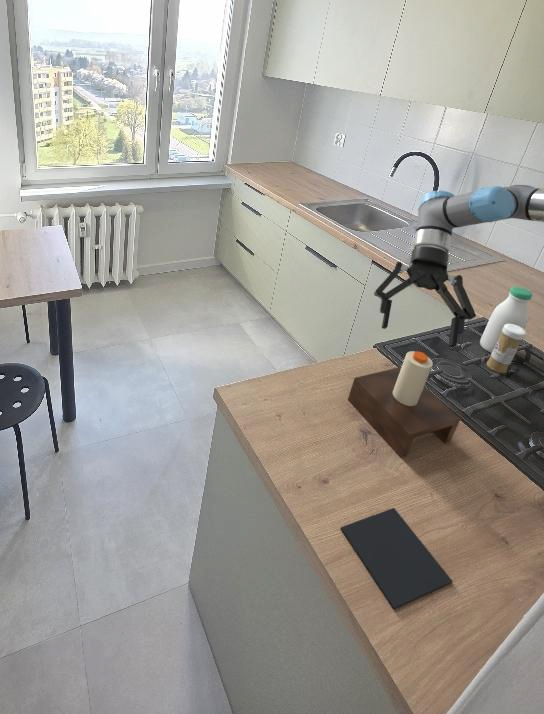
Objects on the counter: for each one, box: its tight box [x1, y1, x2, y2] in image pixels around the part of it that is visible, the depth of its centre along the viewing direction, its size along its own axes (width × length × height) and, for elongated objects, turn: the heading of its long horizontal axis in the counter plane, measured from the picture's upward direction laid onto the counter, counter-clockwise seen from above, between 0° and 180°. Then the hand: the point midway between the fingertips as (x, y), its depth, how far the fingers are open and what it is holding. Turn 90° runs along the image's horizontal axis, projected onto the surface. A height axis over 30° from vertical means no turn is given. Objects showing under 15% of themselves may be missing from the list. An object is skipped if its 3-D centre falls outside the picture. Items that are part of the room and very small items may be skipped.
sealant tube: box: [393, 350, 434, 406], centre depth 91 cm, size 5×5×12 cm
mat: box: [340, 507, 453, 610], centre depth 71 cm, size 12×12×1 cm
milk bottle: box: [479, 286, 533, 354], centre depth 117 cm, size 8×8×20 cm
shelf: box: [347, 366, 461, 458], centre depth 95 cm, size 16×14×7 cm
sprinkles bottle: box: [486, 324, 527, 374], centre depth 111 cm, size 5×5×14 cm
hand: (417, 336), depth 95 cm, fingers open, 13 cm apart
